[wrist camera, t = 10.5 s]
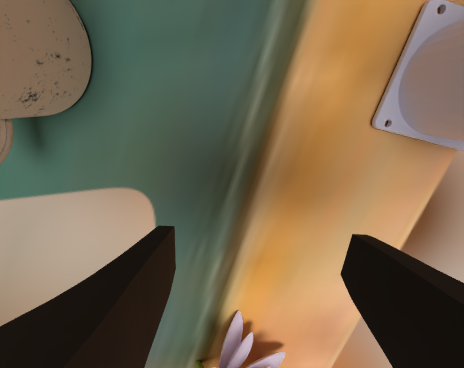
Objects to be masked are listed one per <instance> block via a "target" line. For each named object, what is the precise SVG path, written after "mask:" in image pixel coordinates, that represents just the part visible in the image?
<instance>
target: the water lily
mask: <svg viewBox="0 0 464 368" xmlns="http://www.w3.org/2000/svg"><path fill="white" fill-rule="evenodd" d="M242 332H243V319H242V314H241V313H240V311H239V310H238V311H237V313H236V315H235V316H234V318H233V320H232V322H231V324H230V327H229V329H228V332H227V334H226V337H225V340H224V343H223V347H222V351H221V355H220V361H219V368H239V367H240V366H241V365H242V363H243V362H244V361H245V359H246V358H247V356H248V354H249V352H250V350H251V347H252V343H253V332H251V333H250V334H249V335H248V336H247V337H246V338H245V339H244V340H243V341H242V342H241V338H242ZM285 355H286V352H278V353H274V354H270V355H267V356H265V357H262V358H260V359H258V360H256V361H255V362H253V363H251V364H250V365H248V366H247V367H245V368H278V367H279V365H280V364H281V363H282V361H283V359H284V357H285ZM195 366H196V368H204V367H203V365H202V364H201V362H200V361H199V360H197V361H196V363H195ZM212 368H218V367H212Z"/></svg>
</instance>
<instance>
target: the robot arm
mask: <svg viewBox="0 0 464 368" xmlns="http://www.w3.org/2000/svg"><path fill="white" fill-rule="evenodd" d="M438 7H439V8H440V13H439V14H438V12H437V9H438ZM387 120H388V124H387V125H386V126H385V125H384V124H385V122H386V121H387ZM372 125H373V127H374V128H377V129H381V130H385V131H388V132H392V133H396V134H400V135H404V136H408V137H411V138H415V139H419V140H423V141H427V142H430V143H434V144H438V145H442V146H446V147H450V148H453V149H457V150H461V151H464V6H462V5H459V4H456V3H453V2H450V1H447V0H428V1H427V2H426V3H425V4H424V5H423V7H422V9H421V12H420V14H419V16H418V18H417V21H416V23H415V25H414V27H413V30H412V32H411V34H410V36H409V39H408V41H407V43H406V46H405V48H404V50H403V52H402V55H401V57H400V59H399V61H398V64H397V66H396V68H395V70H394V73H393V75H392V77H391V79H390V82H389V84H388V86H387V88H386V91H385V93H384V95H383V97H382V100H381V102H380V104H379V106H378V109H377V111H376V113H375V116H374V118H373V120H372ZM175 269H176V263H175V229H174V226H158V227H156V228H155V229H154V230H152V231H151V232H150V233H149V234H147V235H146V236H145V237H144V238H142V239H141V240H140V241H139V242H137V243H136V244H135V245H133V246H132V247H131V248H129V249H128V250H127V251H125V252H124V253H123V254H121V255H120V256H119V257H117V258H116V259H114V260H113V261H112V262H110V263H109V264H107V265H106V266H104V267H103V268H102V269H100V270H98V271H97V272H96V273H94V274H93V275H91V276H90V277H88V278H86V279H85V280H83V281H82V282H80V283H78V284H77V285H75V286H74V287H72V288H70V289H68V290H67V291H65V292H63V293H62V294H60V295H58V296H57V297H55V298H53V299H51V300H50V301H48V302H46V303H44V304H42V305H40V306H38V307H36V308H35V309H33V310H31V311H29V312H27V313H25V314H23V315H21V316H19V317H17V318H15V319H14V320H12V321H10V322H8V323H6V324H4V325H2V326H1V327H0V368H144V367H145V364H146V361H147V358H148V355H149V352H150V349H151V346H152V343H153V340H154V338H155V335H156V332H157V329H158V326H159V323H160V321H161V318H162V315H163V312H164V309H165V306H166V303H167V301H168V298H169V295H170V291H171V287H172V283H173V278H174V274H175ZM341 276H342V279H343V281H344V283H345V286H346V288H347V290H348V292H349V295H350V297H351V299H352V300H353V302H354V304H355V306H356V307H357V309H358V311H359V312H360V314H361V316H362V317H363V319H364V321H365V322H366V324H367V326H368V327H369V329H370V330H371V332H372V334H373V335H374V337H375V339H376V340H377V342H378V343H379V345H380V347H381V348H382V350H383V352H384V353H385V355H386V357H387V358H388V360H389V362H390V363H391V365H392V367H393V368H464V283H462V282H460V281H458V280H456V279H454V278H452V277H450V276H448V275H446V274H444V273H442V272H440V271H438V270H436V269H434V268H432V267H431V266H429V265H427V264H425V263H423V262H421V261H419V260H417V259H415V258H413V257H411V256H409V255H408V254H406V253H404V252H402V251H400V250H398V249H396V248H394V247H392V246H390V245H388V244H386V243H384V242H382V241H380V240H378V239H376V238H374V237H371V236H369V235H359V234H352V238H351V241H350V244H349V248H348V251H347V254H346V258H345V261H344V264H343V268H342V271H341Z"/></svg>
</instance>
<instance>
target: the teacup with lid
mask: <svg viewBox="0 0 464 368" xmlns="http://www.w3.org/2000/svg"><path fill="white" fill-rule="evenodd" d="M90 73H91V50H90V45H89V40H88V37H87V34H86V31H85V28H84V26H83V23H82V21H81V19H80V17H79V15H78V13H77V12H76V10H75V8H74V7H73V5H72V4H71V2H70V1H69V0H0V164H1V163H2V162H3V161H4V159H5V158H6V157H7V155H8V153H9V151H10V149H11V146H12V141H13V125H12V118H23V117H36V116H48V115H53V114H57V113H60V112H62V111H64V110H66V109H68V108H69V107H71V106H72V105H73V104H75V103H76V102H77V101H78V99H79V98H80V97H81V96H82V94H83V92H84V91H85V89H86V87H87V84H88V81H89V78H90Z"/></svg>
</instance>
